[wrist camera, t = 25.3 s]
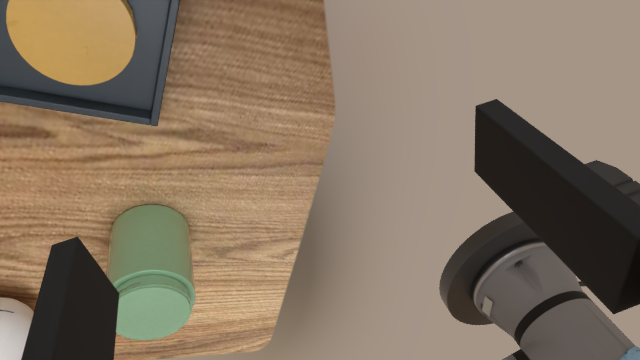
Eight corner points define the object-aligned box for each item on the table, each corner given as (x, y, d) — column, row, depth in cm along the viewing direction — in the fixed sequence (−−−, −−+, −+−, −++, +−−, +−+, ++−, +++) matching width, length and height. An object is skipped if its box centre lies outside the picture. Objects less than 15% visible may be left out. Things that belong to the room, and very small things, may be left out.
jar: (196, 207, 47) (204, 284, 39) (182, 262, 51) (187, 343, 43) (114, 200, 44) (105, 282, 36) (106, 259, 48) (96, 345, 40)
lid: (-7, -34, 31) (-15, -28, 30) (123, -38, 33) (122, -33, 31) (34, 80, 36) (29, 90, 34) (145, 71, 38) (145, 80, 36)
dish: (185, -43, 34) (186, -38, 33) (157, 115, 41) (157, 126, 39) (-34, -110, 29) (-44, -108, 27) (-27, 85, 35) (-35, 96, 34)
